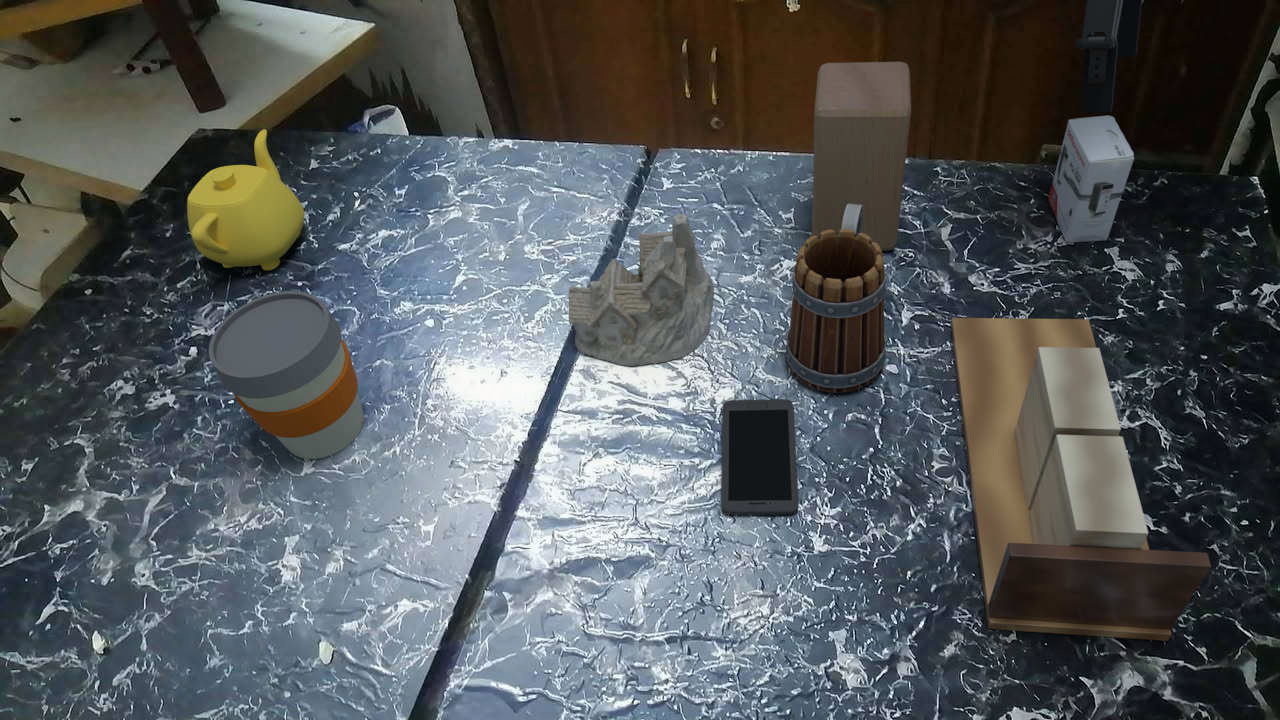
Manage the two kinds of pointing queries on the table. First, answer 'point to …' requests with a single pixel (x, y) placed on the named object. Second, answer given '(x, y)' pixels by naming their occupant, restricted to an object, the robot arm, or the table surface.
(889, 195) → the wooden block
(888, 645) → the table surface
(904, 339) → the table surface
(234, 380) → the reusable coffee cup
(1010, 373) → the shelf
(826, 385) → the mug
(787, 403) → the cell phone
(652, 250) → the ceramic cottage
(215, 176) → the teapot
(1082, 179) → the ink box
